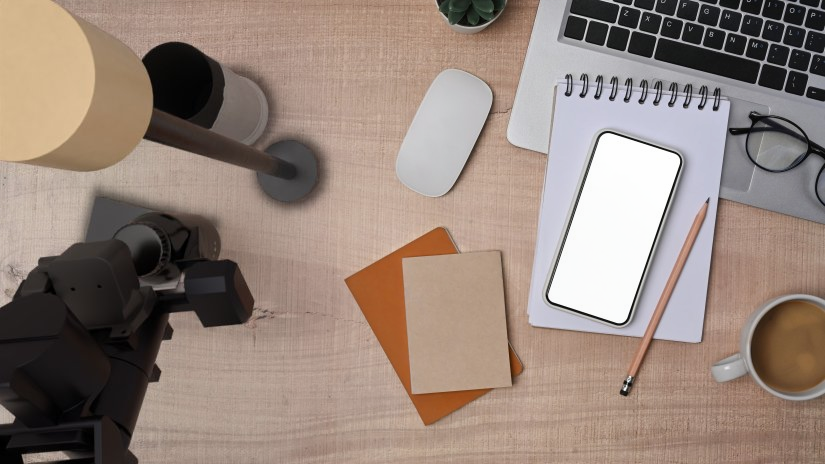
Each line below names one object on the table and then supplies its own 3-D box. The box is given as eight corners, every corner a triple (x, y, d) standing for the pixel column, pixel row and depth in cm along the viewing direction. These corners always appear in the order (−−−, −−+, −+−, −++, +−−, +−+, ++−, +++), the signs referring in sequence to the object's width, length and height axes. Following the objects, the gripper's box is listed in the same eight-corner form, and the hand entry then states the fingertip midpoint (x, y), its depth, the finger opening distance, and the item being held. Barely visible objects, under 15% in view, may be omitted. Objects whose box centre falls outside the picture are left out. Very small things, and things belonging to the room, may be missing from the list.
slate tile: (193, 299, 71) (191, 300, 70) (80, 270, 72) (77, 270, 71) (211, 224, 71) (209, 224, 70) (98, 196, 71) (95, 196, 71)
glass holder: (264, 153, 70) (216, 134, 55) (145, 141, 71) (66, 119, 56) (272, 78, 70) (225, 38, 55) (152, 67, 71) (75, 25, 56)
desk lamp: (293, 214, 70) (19, 196, 25) (248, 174, 71) (-104, 84, 25) (332, 169, 70) (129, 67, 25) (287, 129, 70) (4, -46, 25)
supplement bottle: (157, 274, 64) (92, 284, 52) (163, 210, 64) (99, 206, 52) (221, 281, 64) (169, 292, 52) (226, 216, 64) (176, 213, 52)
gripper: (190, 299, 40) (231, 154, 51) (-78, 325, 41) (20, 178, 52) (241, 386, 48) (267, 245, 59) (15, 407, 49) (83, 264, 60)
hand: (162, 232), depth 58 cm, fingers closed on supplement bottle, 7 cm apart
